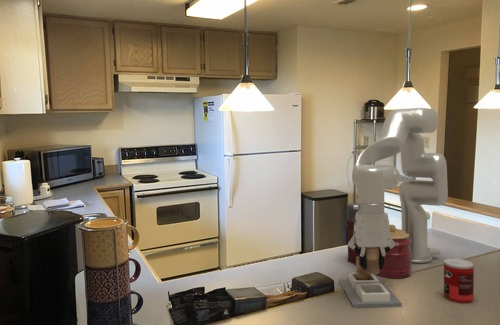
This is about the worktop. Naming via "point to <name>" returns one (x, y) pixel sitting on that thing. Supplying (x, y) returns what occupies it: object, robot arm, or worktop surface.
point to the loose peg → (372, 260)
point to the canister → (397, 256)
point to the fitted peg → (361, 272)
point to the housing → (368, 292)
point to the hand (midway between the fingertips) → (371, 267)
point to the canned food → (458, 280)
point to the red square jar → (351, 231)
